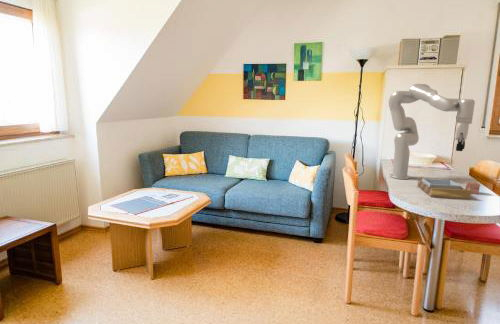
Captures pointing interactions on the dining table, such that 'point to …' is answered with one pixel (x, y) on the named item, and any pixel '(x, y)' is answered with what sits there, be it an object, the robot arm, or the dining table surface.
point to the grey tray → (441, 184)
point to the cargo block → (473, 187)
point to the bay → (444, 192)
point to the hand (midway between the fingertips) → (460, 149)
